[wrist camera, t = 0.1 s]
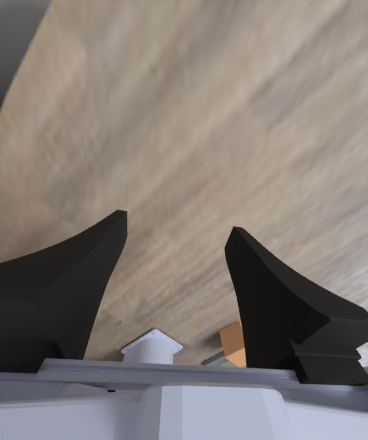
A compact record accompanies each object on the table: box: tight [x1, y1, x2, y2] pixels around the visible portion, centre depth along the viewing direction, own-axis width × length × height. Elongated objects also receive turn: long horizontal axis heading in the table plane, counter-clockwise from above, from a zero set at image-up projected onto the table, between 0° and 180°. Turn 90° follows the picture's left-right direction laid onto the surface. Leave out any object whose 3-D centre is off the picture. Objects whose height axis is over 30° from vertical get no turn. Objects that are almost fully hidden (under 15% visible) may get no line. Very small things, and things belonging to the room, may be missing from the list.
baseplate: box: [203, 351, 229, 367], centre depth 36 cm, size 14×9×1 cm, turn 131°
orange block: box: [219, 320, 246, 368], centre depth 31 cm, size 5×5×4 cm
